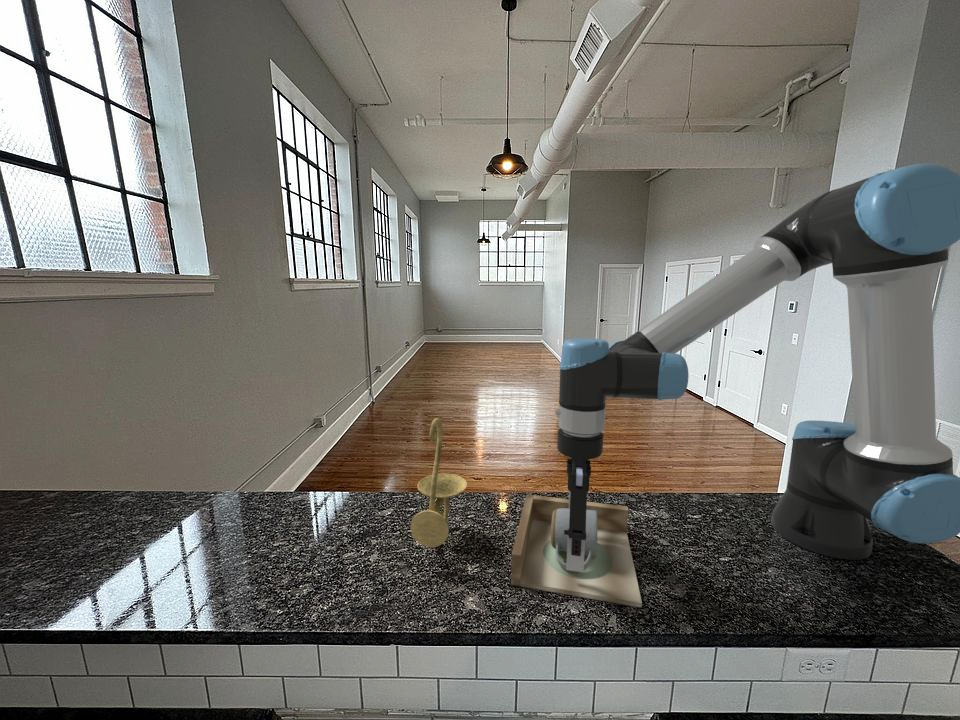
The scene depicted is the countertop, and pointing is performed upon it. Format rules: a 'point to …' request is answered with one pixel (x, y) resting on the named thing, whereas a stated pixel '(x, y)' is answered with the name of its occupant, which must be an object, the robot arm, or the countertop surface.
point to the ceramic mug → (560, 540)
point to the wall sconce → (432, 522)
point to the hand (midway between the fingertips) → (574, 544)
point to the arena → (538, 560)
